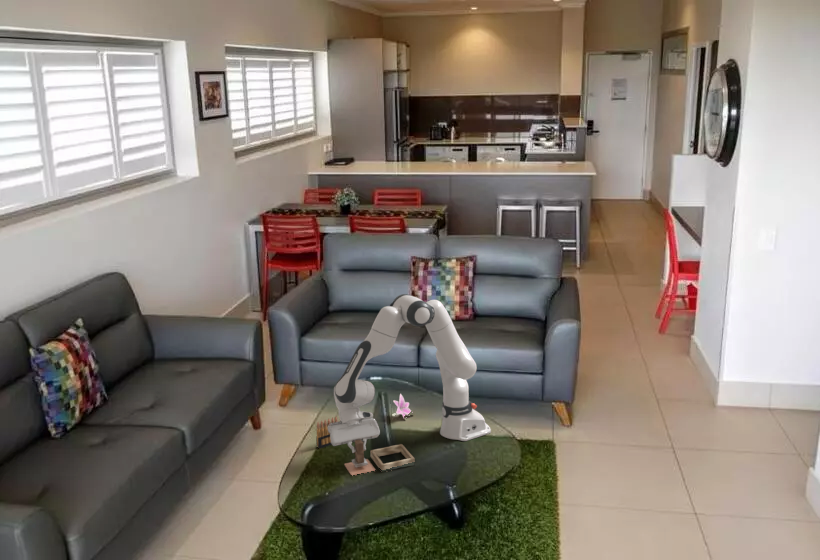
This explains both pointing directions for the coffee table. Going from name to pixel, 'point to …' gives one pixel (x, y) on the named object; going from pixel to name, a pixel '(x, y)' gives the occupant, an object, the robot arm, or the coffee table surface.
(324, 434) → the ammunition clip
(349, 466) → the terracotta tile
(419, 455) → the coffee table surface
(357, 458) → the wooden post
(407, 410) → the lily
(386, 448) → the frame
